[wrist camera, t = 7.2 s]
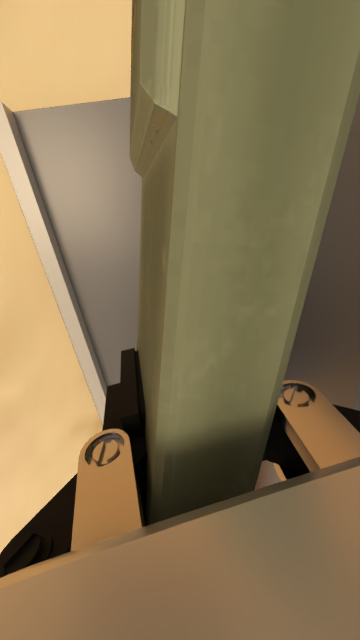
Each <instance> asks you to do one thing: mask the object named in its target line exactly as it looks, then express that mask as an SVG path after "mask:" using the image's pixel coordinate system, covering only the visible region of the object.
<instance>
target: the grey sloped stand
mask: <svg viewBox="0 0 360 640" xmlns="http://www.w3.org/2000/svg"><path fill="white" fill-rule="evenodd" d="M130 100H131V97H129V98H121V99H113V100H105V101H97V102H89V103H81V104H73V105H65V106H57V107H49V108H41V109H33V110H25V111H17V112H12V111H11V110H10V109H9V108H7V107H6V106H5V105H4V104H3V103H2V102H0V154H1V156H2V159H3V162H4V164H5V167H6V170H7V172H8V175H9V178H10V180H11V183H12V185H13V188H14V191H15V193H16V196H17V199H18V201H19V204H20V207H21V209H22V212H23V215H24V217H25V220H26V223H27V225H28V228H29V231H30V233H31V236H32V239H33V241H34V244H35V247H36V249H37V252H38V255H39V257H40V260H41V262H42V265H43V268H44V270H45V273H46V276H47V278H48V281H49V284H50V286H51V289H52V292H53V294H54V297H55V300H56V302H57V305H58V308H59V310H60V313H61V316H62V318H63V321H64V324H65V326H66V329H67V332H68V334H69V337H70V339H71V342H72V345H73V347H74V350H75V353H76V355H77V358H78V361H79V363H80V366H81V369H82V371H83V374H84V377H85V379H86V382H87V385H88V387H89V390H90V393H91V395H92V398H93V401H94V403H95V406H96V409H97V411H98V414H99V416H100V419H101V422H102V424H103V421H104V412H105V402H106V393H107V387H108V386H109V385H113V384H117V383H120V372H121V351H123V350H127V349H131V348H134V349H135V351H137V323H138V292H139V261H140V230H141V199H142V177H141V176H140V175H139V174H138V173H136V172H135V170H134V168H133V165H132V163H131V160H130ZM286 380H299V381H303V382H306V383H309V384H311V385H313V386H314V387H315V388H317V389H318V390H319V391H320V392H321V393H322V394H323V395H324V396H325V397H326V398H327V399H328V400H329V402H330V403H331V404H334V405H338V406H342V407H346V408H350V409H354V410H359V411H360V94H359V98H358V102H357V105H356V109H355V113H354V117H353V120H352V124H351V128H350V132H349V136H348V139H347V143H346V147H345V151H344V154H343V158H342V162H341V166H340V169H339V173H338V177H337V181H336V184H335V188H334V192H333V196H332V200H331V203H330V207H329V211H328V215H327V218H326V222H325V226H324V230H323V233H322V237H321V241H320V245H319V248H318V252H317V256H316V260H315V263H314V267H313V271H312V275H311V279H310V282H309V286H308V290H307V294H306V297H305V301H304V305H303V309H302V312H301V316H300V320H299V324H298V327H297V331H296V335H295V339H294V342H293V346H292V350H291V354H290V358H289V361H288V365H287V369H286V373H285V376H284V380H283V381H286Z"/></svg>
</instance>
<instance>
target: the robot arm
mask: <svg viewBox="0 0 360 640" xmlns="http://www.w3.org/2000/svg"><path fill="white" fill-rule="evenodd" d="M145 419H146V413H145V400H144V393H143V385H142V377H141V369H140V361H139V353H138V350H137V351H135V349H134V348H131V349H127V350H123V351H121V372H120V383H117V384H113V385H109V386H108V387H107V393H106V402H105V412H104V421H103V431H102V432H99V433H97V434H96V435H94V436H93V437H92V438H90V439H89V440H88V441H87V442H86V443H85V445H84V446H83V448H82V450H81V452H80V455H79V462H78V473H77V474H76V475H75V476H74V477H73V478H72V479H71V480H70V481H69V482H68V483H67V484H66V485H65V486H64V487H63V488H62V489H61V490H60V491H59V492H58V493H57V494H56V495H55V496H54V497H53V498H52V499H51V500H50V501H49V502H48V503H47V504H46V505H45V506H44V507H43V508H42V509H41V510H40V511H39V512H38V513H37V514H36V515H35V517H34V518H33V519H32V520H31V521H30V522H29V523H28V524H27V525H26V526H25V527H24V528H23V529H22V530H21V531H20V532H19V533H18V534H17V535H16V536H15V537H14V538H13V539H12V540H11V541H10V542H9V543H8V545H7V546H6V547H5V548H4V549H3V551H2V552H1V554H0V640H360V411H359V410H354V409H350V408H346V407H342V406H338V405H334V404H331V403H330V402H329V400H328V399H327V398H326V397H325V396H324V395H323V394H322V393H321V392H320V391H319V390H318V389H317V388H315V387H314V386H313V385H311V384H309V383H306V382H303V381H299V380H286V381H283V384H282V388H281V391H280V395H279V399H278V403H277V406H276V410H275V414H274V418H273V422H272V425H271V429H270V433H269V437H268V440H267V444H266V448H265V452H264V455H263V459H262V461H264V460H268V461H270V462H273V463H274V466H275V469H276V471H277V473H278V476H279V477H280V480H281V482H279V483H276V484H273V485H270V486H267V487H263V488H260V489H257V490H254V491H251V492H248V493H245V494H242V495H239V496H236V497H233V498H230V499H227V500H223V501H220V502H217V503H214V504H211V505H208V506H205V507H202V508H199V509H196V510H193V511H190V512H187V513H184V514H181V515H178V516H175V517H172V518H169V519H166V520H163V521H160V522H157V523H154V524H151V525H148V526H147V525H146V476H147V448H146V439H145Z"/></svg>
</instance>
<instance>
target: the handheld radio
mask: <svg viewBox="0 0 360 640" xmlns="http://www.w3.org/2000/svg"><path fill="white" fill-rule="evenodd" d="M359 94H360V0H132V41H131V100H130V160H131V163H132V165H133V168H134V170H135V172H136V173H138V174H139V175H140V176H141V177H142V199H141V230H140V261H139V292H138V323H137V350H138V353H139V361H140V369H141V377H142V385H143V393H144V400H145V413H146V419H145V439H146V448H147V476H146V525H147V526H148V525H151V524H154V523H157V522H160V521H163V520H166V519H169V518H172V517H175V516H178V515H181V514H184V513H187V512H190V511H193V510H196V509H199V508H202V507H205V506H208V505H211V504H214V503H217V502H220V501H223V500H227V499H230V498H233V497H236V496H239V495H242V494H245V493H248V492H251V491H254V489H255V485H256V482H257V478H258V474H259V470H260V467H261V463H262V459H263V455H264V452H265V448H266V444H267V440H268V437H269V433H270V429H271V425H272V422H273V418H274V414H275V410H276V406H277V403H278V399H279V395H280V391H281V388H282V384H283V380H284V376H285V373H286V369H287V365H288V361H289V358H290V354H291V350H292V346H293V342H294V339H295V335H296V331H297V327H298V324H299V320H300V316H301V312H302V309H303V305H304V301H305V297H306V294H307V290H308V286H309V282H310V279H311V275H312V271H313V267H314V263H315V260H316V256H317V252H318V248H319V245H320V241H321V237H322V233H323V230H324V226H325V222H326V218H327V215H328V211H329V207H330V203H331V200H332V196H333V192H334V188H335V184H336V181H337V177H338V173H339V169H340V166H341V162H342V158H343V154H344V151H345V147H346V143H347V139H348V136H349V132H350V128H351V124H352V120H353V117H354V113H355V109H356V105H357V102H358V98H359Z"/></svg>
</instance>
